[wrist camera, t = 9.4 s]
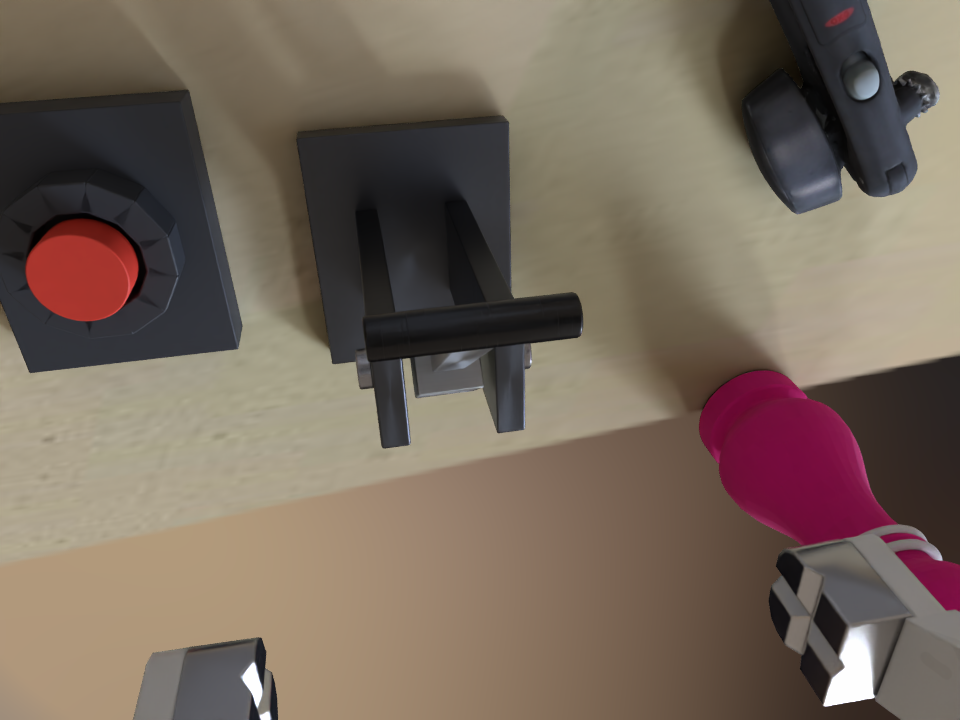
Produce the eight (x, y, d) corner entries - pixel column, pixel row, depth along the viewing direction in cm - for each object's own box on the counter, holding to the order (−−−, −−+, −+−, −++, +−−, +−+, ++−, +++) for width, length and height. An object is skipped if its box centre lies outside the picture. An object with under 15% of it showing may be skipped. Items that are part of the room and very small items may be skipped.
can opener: (891, 142, 37) (974, 176, 33) (764, 215, 38) (827, 258, 33) (800, -265, 28) (897, -300, 23) (635, -157, 29) (696, -170, 24)
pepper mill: (825, 408, 46) (1118, 701, 29) (729, 480, 47) (952, 796, 31) (768, 338, 42) (1062, 625, 25) (667, 419, 44) (880, 737, 27)
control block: (-50, 106, 29) (-99, 132, 26) (189, 89, 31) (172, 112, 27) (44, 349, 35) (15, 395, 32) (242, 326, 36) (234, 369, 33)
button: (26, 222, 29) (9, 239, 27) (125, 213, 29) (114, 229, 28) (57, 306, 30) (43, 327, 29) (149, 297, 31) (140, 316, 29)
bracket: (296, 131, 32) (283, 244, 21) (503, 115, 33) (589, 214, 23) (332, 352, 38) (335, 530, 27) (507, 331, 39) (577, 494, 28)
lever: (357, 283, 17) (370, 391, 16) (576, 259, 17) (590, 363, 17) (368, 337, 27) (376, 403, 27) (503, 322, 28) (511, 386, 28)
